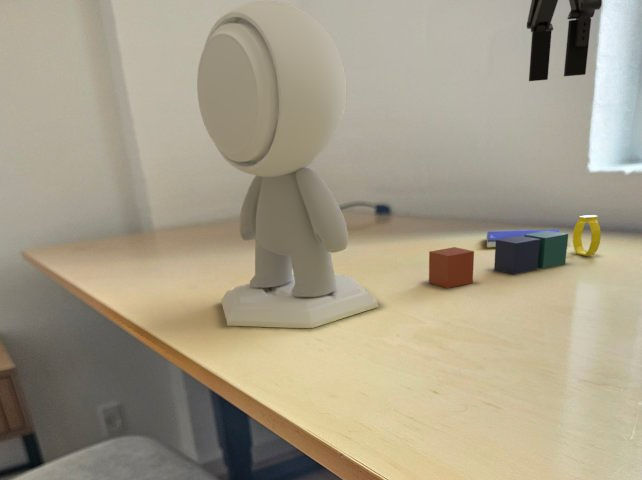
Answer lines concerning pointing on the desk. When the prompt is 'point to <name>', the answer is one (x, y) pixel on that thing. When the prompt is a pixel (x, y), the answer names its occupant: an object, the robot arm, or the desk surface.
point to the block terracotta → (451, 267)
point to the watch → (594, 236)
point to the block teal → (551, 248)
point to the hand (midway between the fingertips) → (555, 78)
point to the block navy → (516, 254)
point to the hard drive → (508, 235)
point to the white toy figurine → (280, 160)
